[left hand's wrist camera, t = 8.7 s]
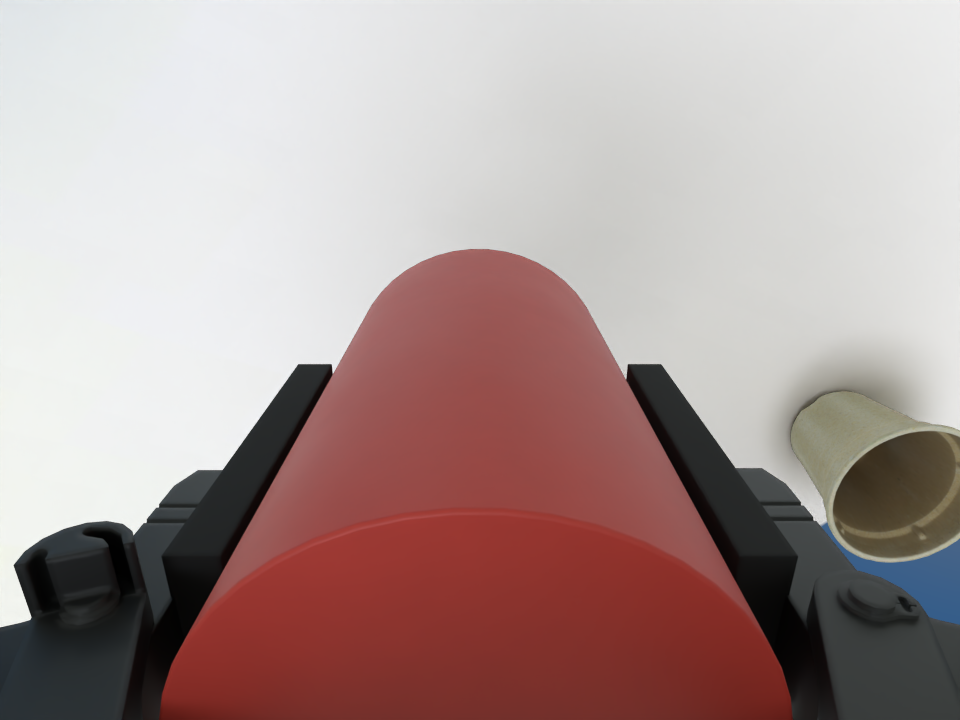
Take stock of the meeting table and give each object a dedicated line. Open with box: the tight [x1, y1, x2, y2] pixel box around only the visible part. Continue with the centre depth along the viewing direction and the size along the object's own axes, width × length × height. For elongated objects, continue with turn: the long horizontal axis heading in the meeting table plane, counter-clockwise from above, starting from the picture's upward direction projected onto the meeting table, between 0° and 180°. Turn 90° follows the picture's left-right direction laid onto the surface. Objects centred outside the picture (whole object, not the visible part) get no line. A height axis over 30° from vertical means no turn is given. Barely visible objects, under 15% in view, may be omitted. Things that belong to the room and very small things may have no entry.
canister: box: [159, 249, 793, 720], centre depth 12 cm, size 7×7×11 cm
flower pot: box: [791, 391, 960, 562], centre depth 40 cm, size 9×9×9 cm
